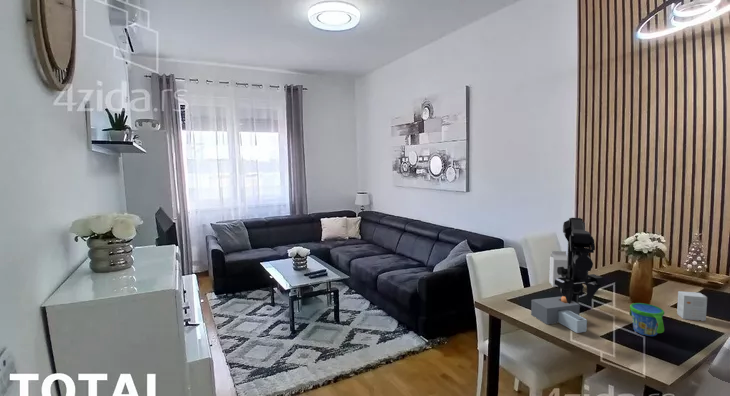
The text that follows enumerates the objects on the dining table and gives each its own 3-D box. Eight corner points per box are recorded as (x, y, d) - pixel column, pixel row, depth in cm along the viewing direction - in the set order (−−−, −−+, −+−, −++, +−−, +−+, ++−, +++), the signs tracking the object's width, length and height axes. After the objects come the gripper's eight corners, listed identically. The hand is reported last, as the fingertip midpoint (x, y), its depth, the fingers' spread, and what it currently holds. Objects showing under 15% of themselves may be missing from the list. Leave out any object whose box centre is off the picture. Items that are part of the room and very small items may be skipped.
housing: (562, 311, 166) (562, 296, 166) (579, 320, 156) (579, 304, 156) (531, 314, 163) (531, 299, 162) (546, 324, 153) (547, 308, 152)
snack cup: (673, 343, 136) (675, 316, 135) (642, 341, 137) (643, 315, 136) (648, 324, 151) (649, 300, 150) (620, 323, 153) (621, 299, 152)
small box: (699, 316, 158) (700, 292, 157) (706, 321, 153) (707, 297, 151) (676, 313, 160) (677, 290, 159) (682, 319, 155) (684, 295, 154)
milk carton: (567, 287, 196) (568, 253, 194) (553, 286, 197) (553, 252, 196) (562, 283, 203) (563, 249, 201) (549, 282, 204) (550, 249, 202)
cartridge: (553, 312, 164) (553, 301, 163) (586, 331, 146) (586, 318, 145) (544, 313, 163) (544, 302, 162) (576, 333, 145) (577, 320, 144)
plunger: (566, 302, 162) (566, 295, 162) (572, 305, 159) (572, 298, 159) (559, 303, 162) (559, 296, 161) (565, 306, 158) (565, 299, 158)
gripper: (583, 257, 154) (582, 292, 156) (545, 260, 150) (544, 297, 152) (606, 264, 143) (604, 302, 145) (565, 268, 139) (564, 307, 141)
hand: (578, 302), depth 146 cm, fingers open, 9 cm apart
